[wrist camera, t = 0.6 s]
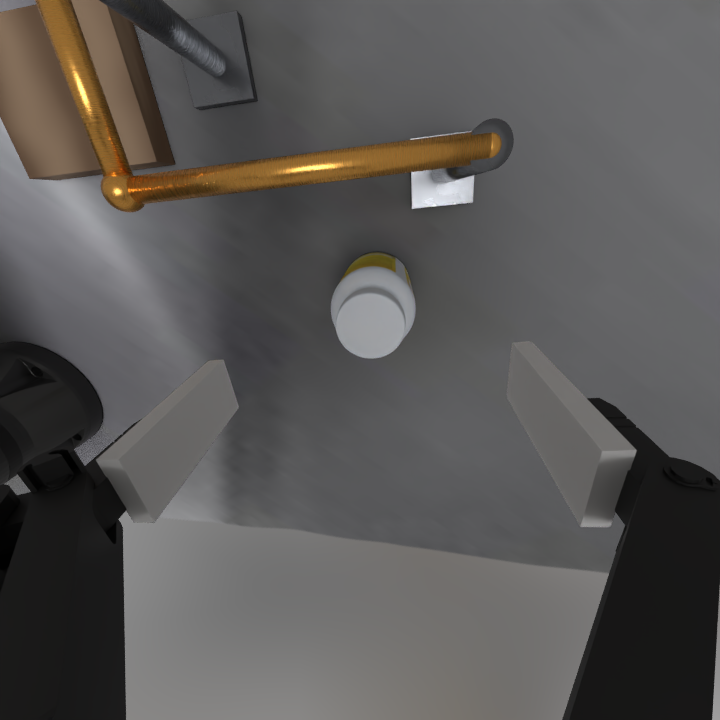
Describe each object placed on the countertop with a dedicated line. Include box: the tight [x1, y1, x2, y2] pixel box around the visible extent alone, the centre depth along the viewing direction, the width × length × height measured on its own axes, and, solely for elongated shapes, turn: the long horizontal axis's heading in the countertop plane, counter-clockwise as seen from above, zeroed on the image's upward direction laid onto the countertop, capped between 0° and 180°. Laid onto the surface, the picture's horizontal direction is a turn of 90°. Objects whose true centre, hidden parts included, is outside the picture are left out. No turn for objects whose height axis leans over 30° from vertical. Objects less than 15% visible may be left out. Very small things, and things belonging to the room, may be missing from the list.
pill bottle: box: [331, 252, 416, 359], centre depth 27 cm, size 6×6×12 cm
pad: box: [0, 0, 175, 180], centre depth 26 cm, size 12×10×2 cm
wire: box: [35, 0, 514, 212], centre depth 19 cm, size 22×14×16 cm, turn 96°
